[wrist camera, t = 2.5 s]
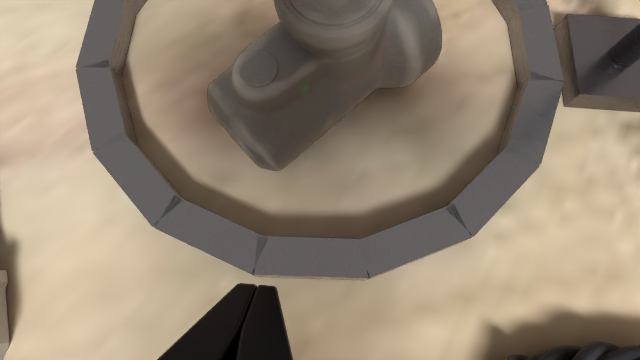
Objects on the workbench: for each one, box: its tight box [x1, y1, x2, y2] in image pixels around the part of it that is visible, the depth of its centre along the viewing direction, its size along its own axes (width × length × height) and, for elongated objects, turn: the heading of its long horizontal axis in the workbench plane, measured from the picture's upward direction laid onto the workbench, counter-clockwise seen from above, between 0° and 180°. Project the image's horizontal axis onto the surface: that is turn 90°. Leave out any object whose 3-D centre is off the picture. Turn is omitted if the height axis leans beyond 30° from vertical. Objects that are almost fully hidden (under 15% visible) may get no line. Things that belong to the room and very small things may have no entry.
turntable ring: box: [76, 0, 564, 280], centre depth 25 cm, size 30×30×2 cm
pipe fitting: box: [207, 0, 442, 171], centre depth 20 cm, size 12×8×10 cm
